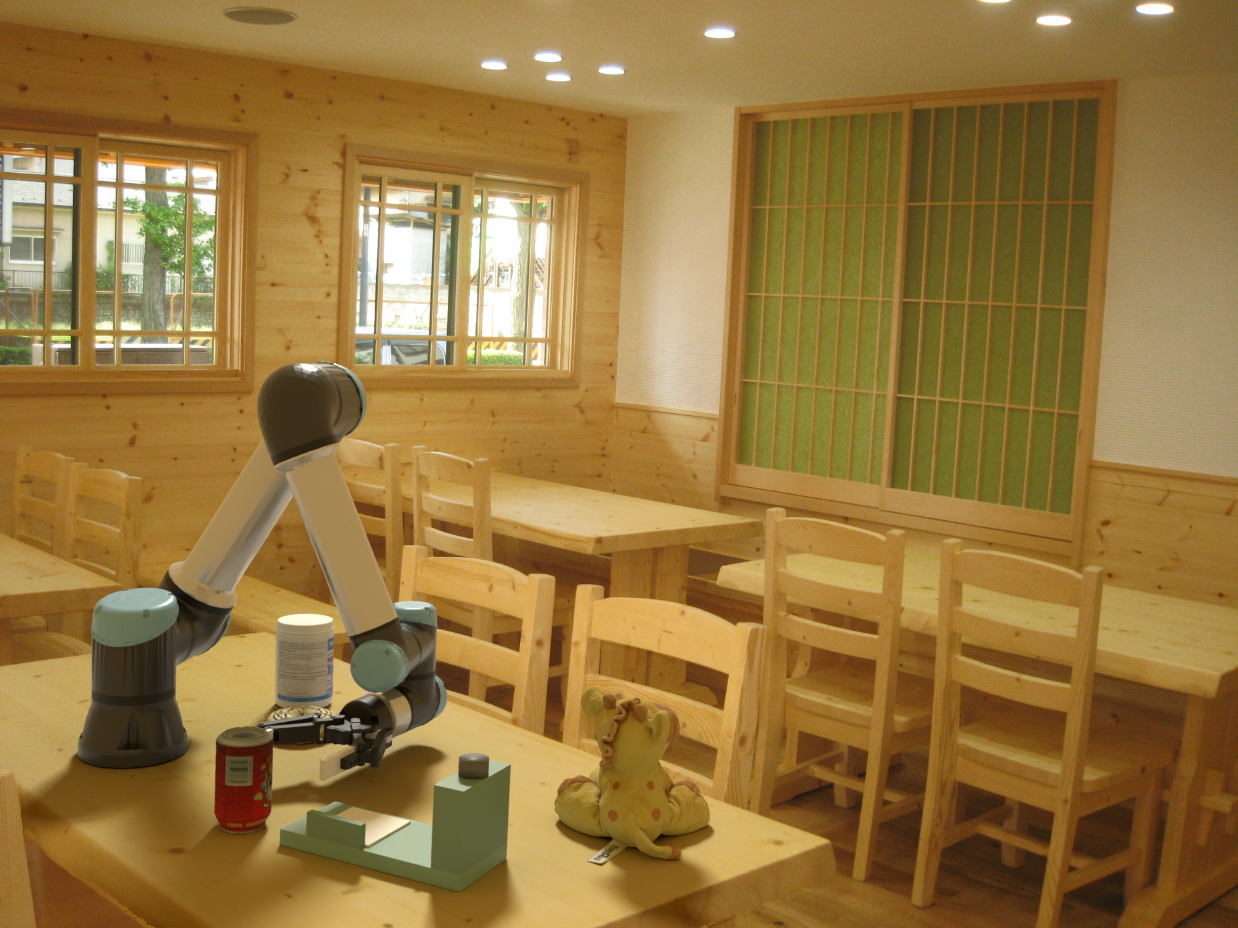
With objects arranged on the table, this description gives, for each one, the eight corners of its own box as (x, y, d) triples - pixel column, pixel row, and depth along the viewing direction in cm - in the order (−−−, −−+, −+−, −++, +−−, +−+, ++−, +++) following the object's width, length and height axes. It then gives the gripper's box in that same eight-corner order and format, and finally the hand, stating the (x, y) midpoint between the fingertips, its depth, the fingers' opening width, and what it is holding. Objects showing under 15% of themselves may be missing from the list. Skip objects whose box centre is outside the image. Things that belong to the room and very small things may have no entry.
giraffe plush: (715, 809, 175) (724, 675, 173) (688, 878, 152) (698, 724, 150) (574, 791, 180) (580, 660, 178) (527, 855, 157) (534, 705, 155)
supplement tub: (340, 708, 213) (343, 622, 211) (285, 714, 207) (288, 627, 206) (320, 693, 221) (322, 611, 219) (266, 699, 215) (269, 615, 214)
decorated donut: (260, 745, 192) (261, 721, 192) (274, 723, 203) (275, 701, 203) (329, 747, 193) (330, 723, 193) (340, 725, 204) (340, 702, 203)
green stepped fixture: (279, 844, 156) (282, 734, 154) (334, 815, 166) (337, 712, 164) (459, 891, 145) (464, 774, 144) (506, 858, 155) (511, 748, 154)
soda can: (272, 833, 159) (274, 738, 158) (213, 837, 157) (215, 741, 156) (270, 812, 166) (272, 721, 164) (214, 816, 163) (215, 724, 162)
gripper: (445, 759, 180) (357, 806, 161) (304, 729, 190) (205, 770, 171) (447, 708, 180) (359, 749, 160) (305, 681, 190) (206, 717, 170)
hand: (279, 760), depth 166 cm, fingers open, 13 cm apart
